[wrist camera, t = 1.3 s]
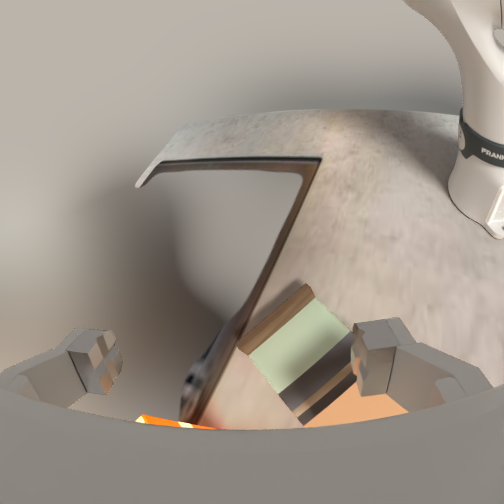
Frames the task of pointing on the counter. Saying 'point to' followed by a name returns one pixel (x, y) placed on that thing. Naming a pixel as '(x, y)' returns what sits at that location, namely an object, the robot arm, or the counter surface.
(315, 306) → the pad
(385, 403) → the block
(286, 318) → the board
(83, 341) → the robot arm
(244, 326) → the counter surface
